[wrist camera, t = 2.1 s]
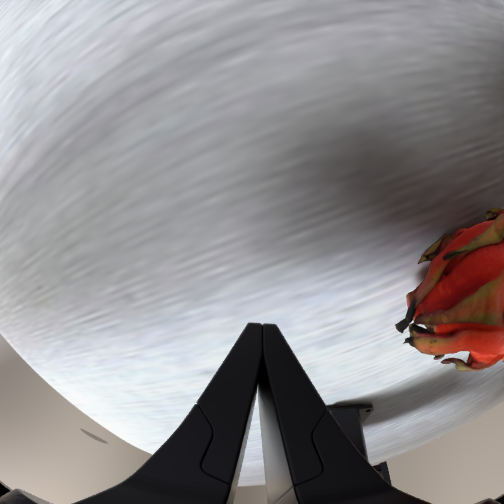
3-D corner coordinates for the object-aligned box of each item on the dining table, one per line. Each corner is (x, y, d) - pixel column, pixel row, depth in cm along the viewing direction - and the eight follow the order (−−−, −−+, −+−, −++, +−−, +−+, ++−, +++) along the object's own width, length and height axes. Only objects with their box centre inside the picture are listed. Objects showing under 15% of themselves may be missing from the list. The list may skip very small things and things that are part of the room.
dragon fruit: (510, 240, 14) (372, 255, 17) (567, 174, 6) (394, 172, 9) (529, 352, 10) (382, 390, 13) (608, 329, 3) (427, 411, 6)
